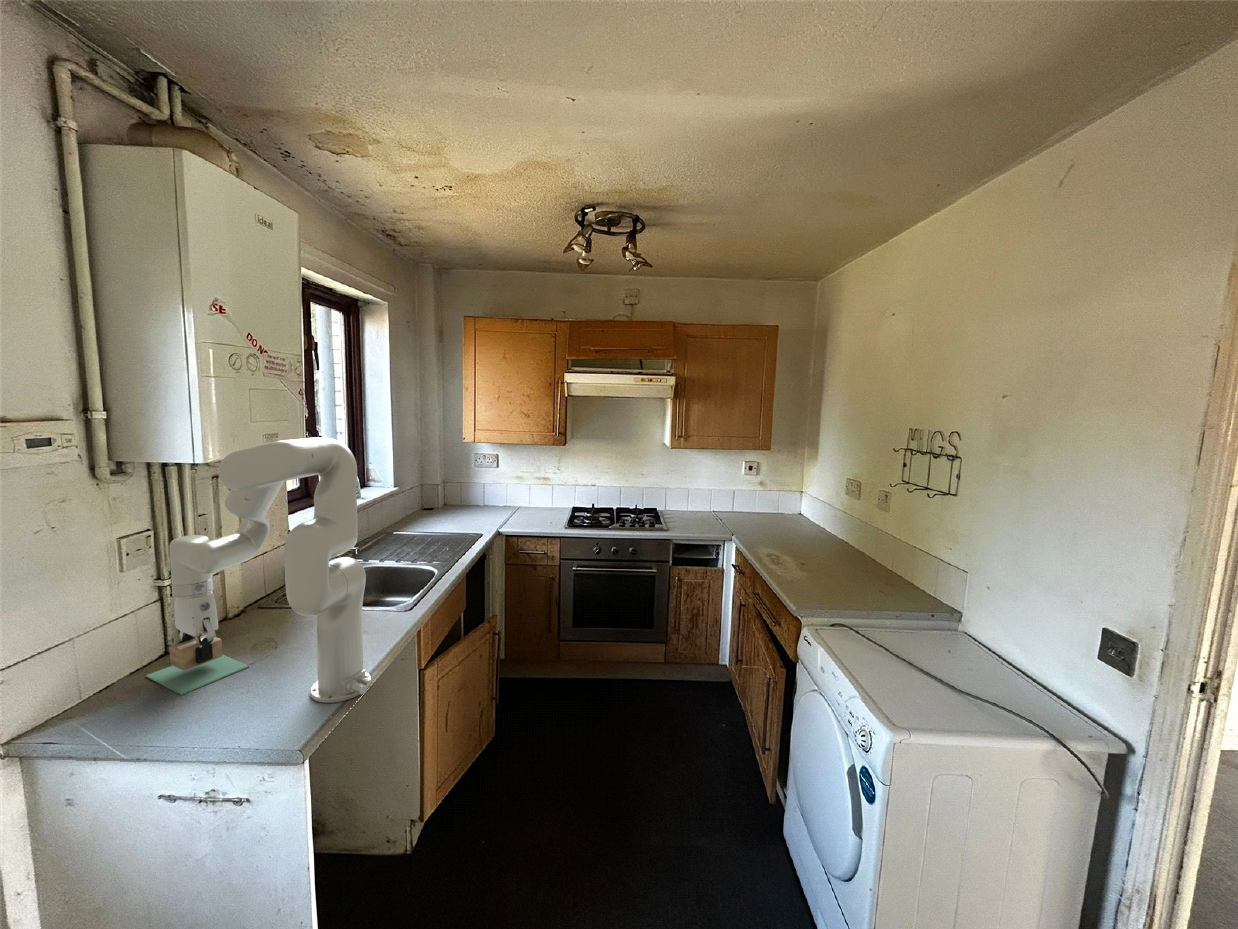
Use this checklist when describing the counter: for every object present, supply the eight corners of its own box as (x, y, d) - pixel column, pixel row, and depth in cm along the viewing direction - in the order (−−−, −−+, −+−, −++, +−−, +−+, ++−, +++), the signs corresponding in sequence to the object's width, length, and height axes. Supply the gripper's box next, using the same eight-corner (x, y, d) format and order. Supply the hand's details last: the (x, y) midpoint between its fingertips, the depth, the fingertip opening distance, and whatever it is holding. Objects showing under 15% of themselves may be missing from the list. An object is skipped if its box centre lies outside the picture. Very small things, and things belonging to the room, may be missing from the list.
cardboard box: (183, 671, 118) (182, 651, 117) (170, 664, 121) (169, 645, 120) (222, 656, 125) (221, 638, 125) (209, 650, 128) (208, 632, 127)
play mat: (248, 667, 126) (248, 665, 126) (181, 695, 114) (181, 693, 114) (213, 651, 133) (213, 650, 133) (146, 676, 120) (145, 675, 120)
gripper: (231, 589, 120) (234, 659, 123) (191, 575, 128) (195, 642, 130) (193, 599, 114) (198, 674, 116) (154, 584, 121) (159, 655, 123)
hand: (197, 656), depth 123 cm, fingers closed on cardboard box, 5 cm apart
